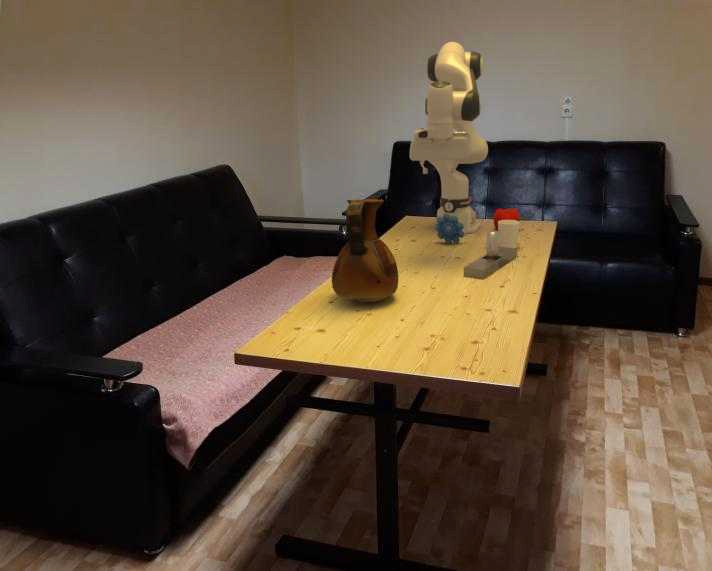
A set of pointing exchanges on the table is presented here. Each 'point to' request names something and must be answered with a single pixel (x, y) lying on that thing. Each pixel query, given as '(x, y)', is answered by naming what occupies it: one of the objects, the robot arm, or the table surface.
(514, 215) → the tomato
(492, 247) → the pin
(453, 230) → the grapes
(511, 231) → the white cup
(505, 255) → the grey slab
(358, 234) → the ceramic pitcher
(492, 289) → the table surface
